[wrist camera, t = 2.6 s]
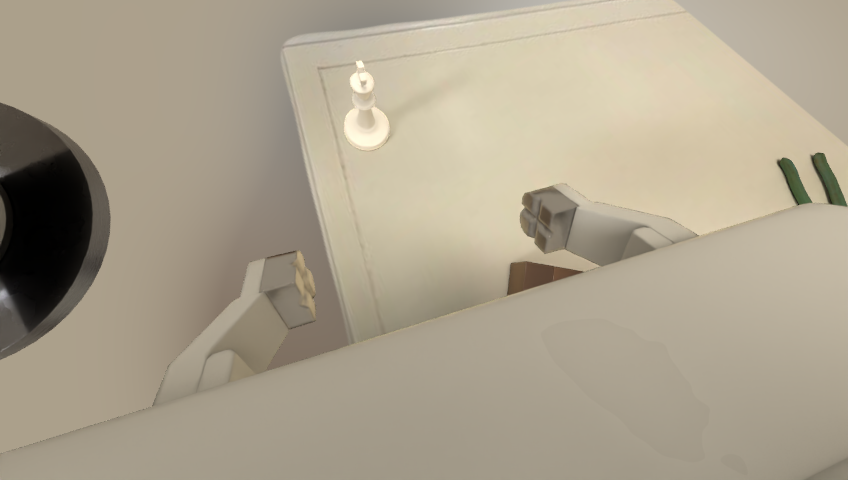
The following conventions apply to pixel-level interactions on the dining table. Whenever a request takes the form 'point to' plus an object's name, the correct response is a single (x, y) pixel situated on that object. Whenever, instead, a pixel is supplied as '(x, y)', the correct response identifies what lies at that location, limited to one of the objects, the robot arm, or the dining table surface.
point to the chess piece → (365, 114)
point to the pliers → (826, 174)
